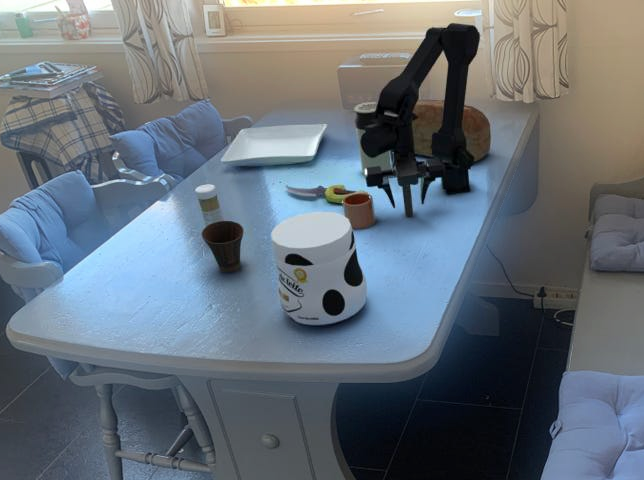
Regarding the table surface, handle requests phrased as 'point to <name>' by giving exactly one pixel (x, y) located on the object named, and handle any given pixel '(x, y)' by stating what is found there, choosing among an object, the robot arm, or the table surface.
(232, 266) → the cup
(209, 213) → the sprinkles bottle
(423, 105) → the bread
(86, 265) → the table surface
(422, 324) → the table surface
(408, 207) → the walnut stick
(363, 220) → the terracotta cup
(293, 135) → the square plate
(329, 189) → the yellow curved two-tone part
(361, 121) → the travel mug
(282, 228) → the milk container
